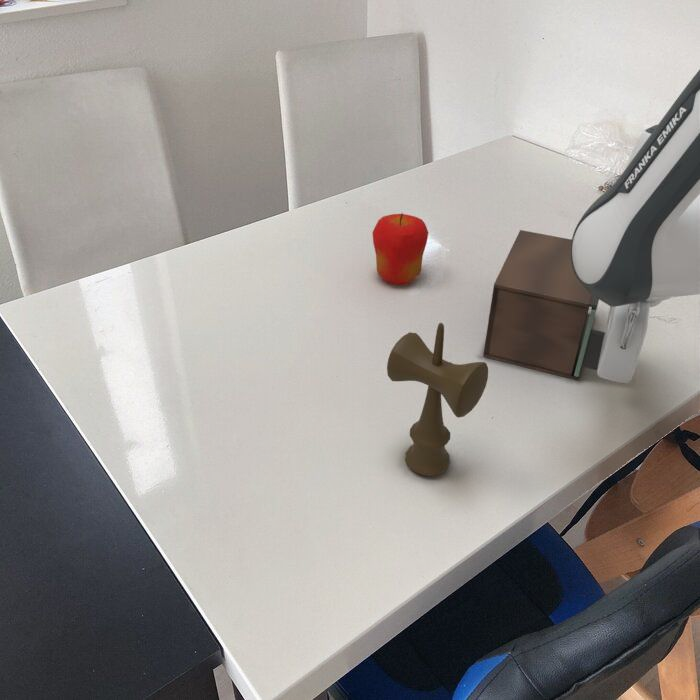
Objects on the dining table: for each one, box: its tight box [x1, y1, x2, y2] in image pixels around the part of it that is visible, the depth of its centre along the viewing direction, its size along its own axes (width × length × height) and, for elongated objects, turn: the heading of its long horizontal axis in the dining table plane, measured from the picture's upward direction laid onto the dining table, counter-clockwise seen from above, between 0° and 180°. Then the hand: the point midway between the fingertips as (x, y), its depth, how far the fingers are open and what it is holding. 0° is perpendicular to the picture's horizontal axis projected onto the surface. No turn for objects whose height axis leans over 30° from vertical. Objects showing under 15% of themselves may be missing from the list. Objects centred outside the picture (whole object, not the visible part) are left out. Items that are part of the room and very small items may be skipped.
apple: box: [371, 212, 429, 286], centre depth 108 cm, size 9×8×12 cm
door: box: [574, 307, 605, 378], centre depth 89 cm, size 6×8×11 cm, turn 157°
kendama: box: [386, 322, 489, 477], centre depth 73 cm, size 6×10×20 cm, turn 50°
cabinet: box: [482, 229, 600, 381], centre depth 95 cm, size 13×16×12 cm
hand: (611, 364), depth 84 cm, fingers closed
